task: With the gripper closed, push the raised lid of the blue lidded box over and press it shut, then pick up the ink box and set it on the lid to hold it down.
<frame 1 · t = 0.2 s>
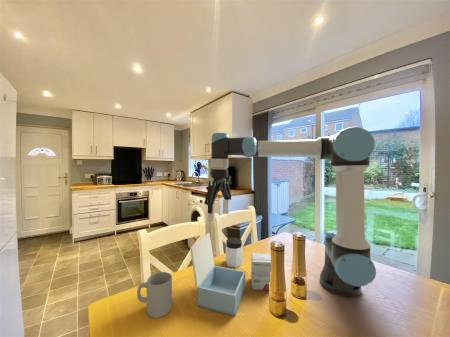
hand: (218, 217, 85), 28 cm above the table, fingers open, 13 cm apart
ink box: (261, 284, 84), on the table
mug: (154, 309, 69), on the table
lid: (203, 256, 78), point 14 cm above the table, hinge at 100.0°
jar: (233, 263, 101), on the table
blue lidded box: (223, 296, 75), on the table
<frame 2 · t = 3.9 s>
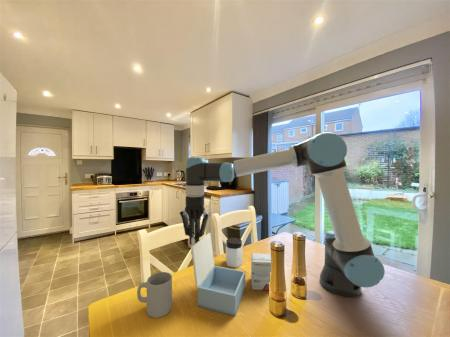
hand: (194, 252, 79), 15 cm above the table, fingers closed
lid: (203, 256, 78), point 14 cm above the table, hinge at 98.3°, touching gripper
everything else where it was.
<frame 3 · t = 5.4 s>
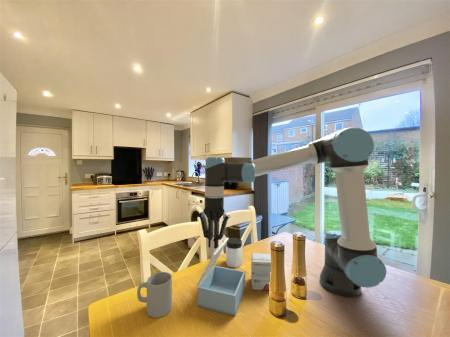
hand: (213, 255, 76), 15 cm above the table, fingers closed
lid: (213, 260, 76), point 14 cm above the table, hinge at 62.3°, touching gripper
everything else where it was.
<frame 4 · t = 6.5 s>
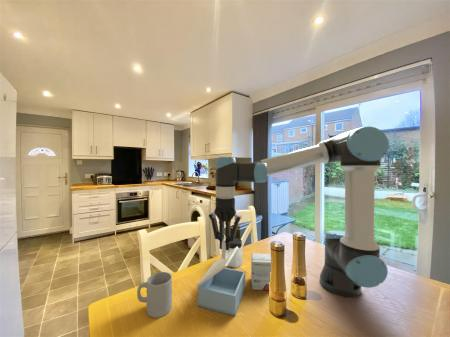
hand: (224, 257, 75), 15 cm above the table, fingers closed
lid: (219, 264, 76), point 12 cm above the table, hinge at 40.5°, touching gripper
everything else where it was.
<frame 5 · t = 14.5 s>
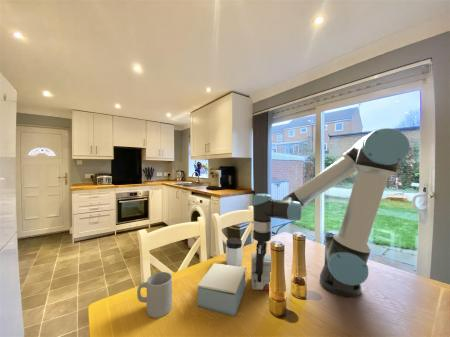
hand: (261, 281, 83), 1 cm above the table, fingers closed on ink box, 9 cm apart
ink box: (261, 284, 84), on the table, touching gripper
lid: (223, 276, 75), point 8 cm above the table, hinge at 2.6°
everything else where it was.
when the fingers open (11 cm above the table, at t = 19.8 s): ink box drops 2 cm, resting on lid.
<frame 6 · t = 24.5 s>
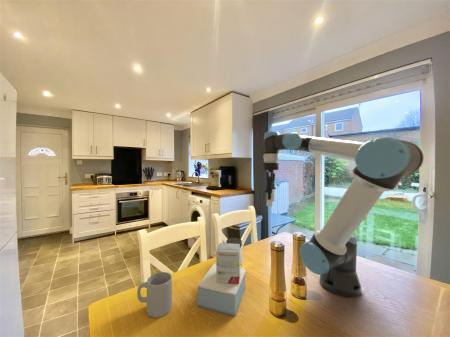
hand: (270, 203, 99), 32 cm above the table, fingers open, 13 cm apart
ink box: (228, 277, 75), point 8 cm above the table, touching lid
lid: (223, 277, 75), point 8 cm above the table, hinge at -0.1°, touching ink box
everything else where it was.
at the end: lid at +0° (first picture: +100°); ink box inside the target area on the blue lidded box (2.0 cm from its centre), point 7.8 cm above the blue lidded box's base; ink box tilted 0° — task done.
